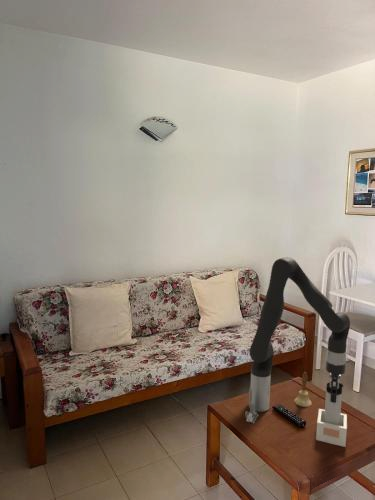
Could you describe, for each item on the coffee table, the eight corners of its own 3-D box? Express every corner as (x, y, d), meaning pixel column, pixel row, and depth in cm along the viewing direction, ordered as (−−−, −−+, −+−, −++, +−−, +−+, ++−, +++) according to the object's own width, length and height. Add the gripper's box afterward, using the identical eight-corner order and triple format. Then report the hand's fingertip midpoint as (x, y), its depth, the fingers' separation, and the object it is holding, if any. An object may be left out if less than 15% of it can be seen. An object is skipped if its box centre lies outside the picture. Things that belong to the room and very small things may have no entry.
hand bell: (310, 398, 192) (311, 369, 190) (313, 407, 184) (314, 376, 182) (293, 397, 193) (294, 367, 191) (295, 406, 185) (297, 375, 183)
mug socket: (316, 440, 159) (317, 422, 158) (318, 425, 169) (319, 408, 168) (345, 447, 154) (346, 429, 153) (345, 431, 165) (346, 414, 164)
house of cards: (242, 410, 181) (242, 395, 180) (259, 415, 177) (260, 399, 176) (235, 419, 173) (235, 404, 172) (253, 425, 169) (254, 409, 168)
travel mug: (341, 433, 158) (344, 388, 155) (324, 431, 159) (327, 386, 156) (338, 424, 164) (341, 381, 161) (322, 422, 165) (325, 379, 163)
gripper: (327, 352, 165) (324, 388, 168) (325, 365, 152) (323, 404, 155) (345, 355, 163) (343, 392, 165) (345, 369, 149) (342, 408, 152)
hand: (333, 398), depth 160 cm, fingers closed on travel mug, 6 cm apart
